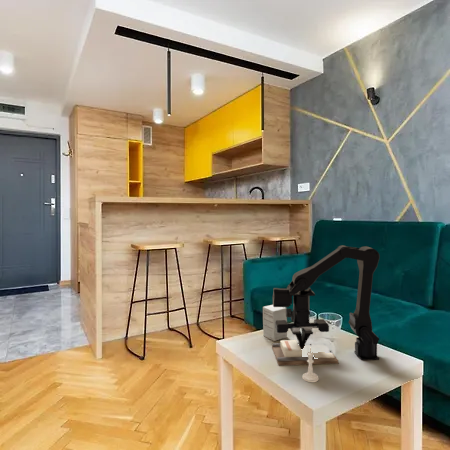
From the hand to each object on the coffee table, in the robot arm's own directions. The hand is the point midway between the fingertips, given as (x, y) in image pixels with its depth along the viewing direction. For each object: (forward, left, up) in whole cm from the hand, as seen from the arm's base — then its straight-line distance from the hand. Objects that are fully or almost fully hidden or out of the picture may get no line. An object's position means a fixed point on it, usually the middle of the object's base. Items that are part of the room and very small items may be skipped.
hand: (301, 348), depth 122 cm
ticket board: (-1, 0, -2) cm, 3 cm away
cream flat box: (+4, 0, -1) cm, 4 cm away
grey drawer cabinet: (+7, -18, -3) cm, 19 cm away
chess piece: (+1, +16, -3) cm, 17 cm away
